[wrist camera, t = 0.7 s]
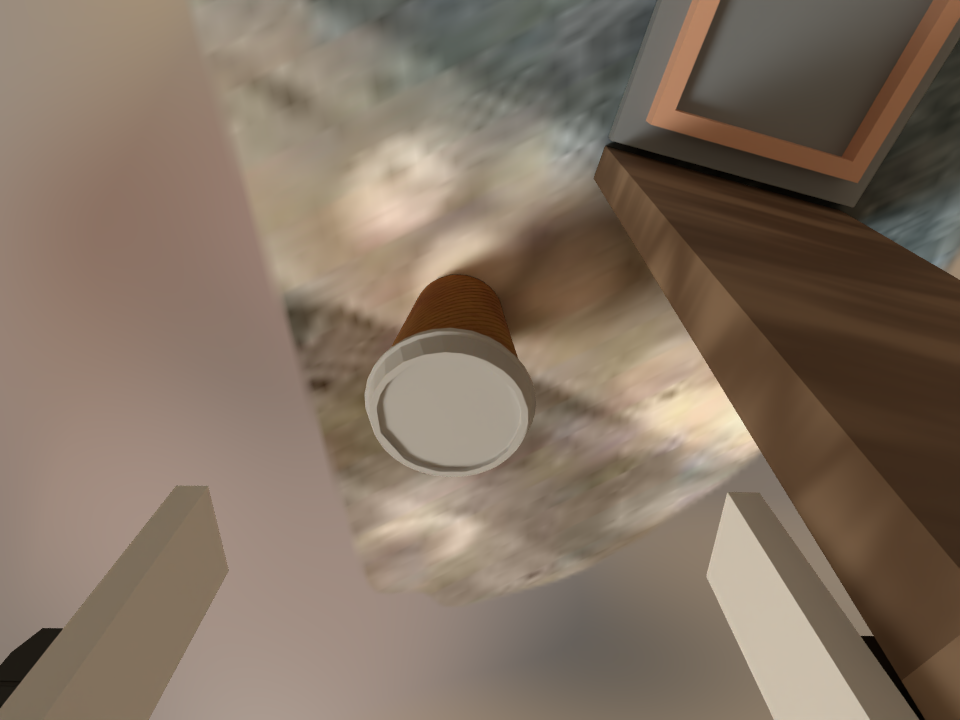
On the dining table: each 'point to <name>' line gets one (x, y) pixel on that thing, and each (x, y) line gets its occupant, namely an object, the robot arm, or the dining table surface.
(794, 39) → the square coaster tray
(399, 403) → the disposable coffee cup
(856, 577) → the brown wooden panel
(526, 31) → the dining table surface
